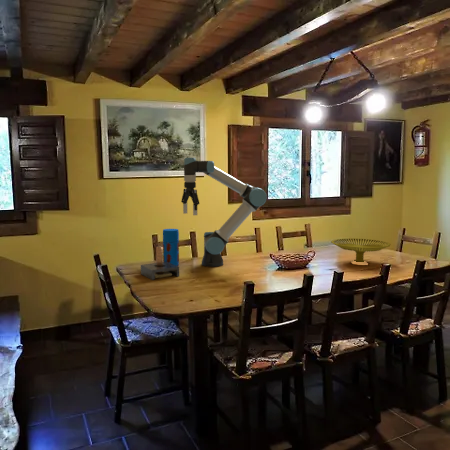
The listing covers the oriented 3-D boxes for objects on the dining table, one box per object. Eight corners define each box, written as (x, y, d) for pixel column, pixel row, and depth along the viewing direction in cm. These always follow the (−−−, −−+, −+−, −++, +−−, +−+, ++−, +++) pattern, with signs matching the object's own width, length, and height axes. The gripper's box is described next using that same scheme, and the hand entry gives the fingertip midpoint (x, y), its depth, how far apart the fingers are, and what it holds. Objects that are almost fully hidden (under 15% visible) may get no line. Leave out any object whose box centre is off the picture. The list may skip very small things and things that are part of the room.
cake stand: (318, 263, 315) (319, 242, 314) (350, 255, 342) (350, 236, 340) (370, 273, 286) (371, 250, 284) (400, 264, 313) (401, 243, 311)
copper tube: (161, 274, 281) (161, 246, 279) (164, 275, 278) (163, 247, 276) (155, 275, 279) (155, 246, 277) (158, 276, 276) (157, 247, 273)
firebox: (166, 270, 291) (166, 261, 290) (179, 276, 276) (179, 266, 275) (140, 274, 281) (140, 264, 280) (152, 280, 266) (152, 270, 265)
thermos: (176, 267, 299) (175, 231, 296) (161, 267, 301) (160, 230, 298) (180, 264, 310) (180, 228, 307) (166, 263, 312) (165, 228, 309)
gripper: (176, 181, 296) (176, 212, 298) (194, 182, 275) (194, 216, 278) (186, 181, 300) (186, 212, 302) (204, 182, 279) (204, 215, 282)
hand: (190, 214), depth 290 cm, fingers open, 13 cm apart
